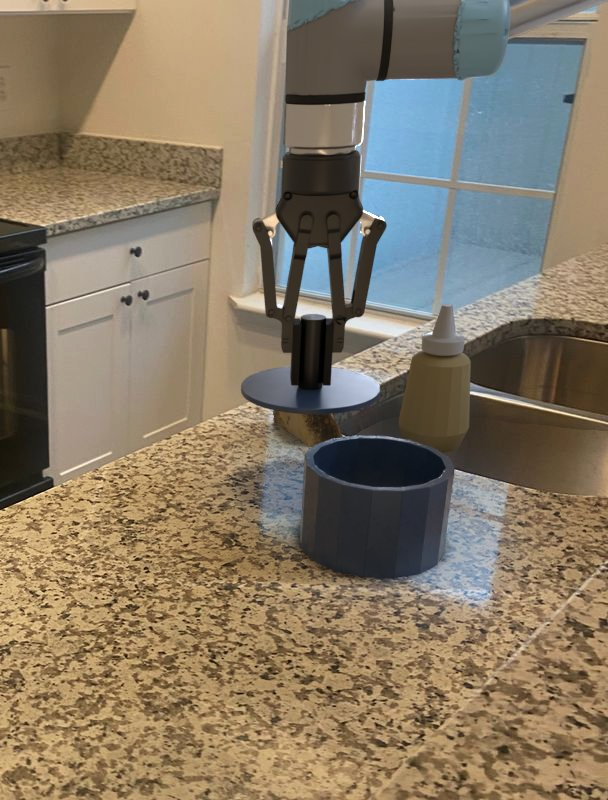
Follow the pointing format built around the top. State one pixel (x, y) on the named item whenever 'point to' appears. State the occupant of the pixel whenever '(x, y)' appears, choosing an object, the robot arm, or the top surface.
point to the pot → (375, 506)
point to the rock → (308, 426)
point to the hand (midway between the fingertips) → (310, 381)
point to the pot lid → (311, 380)
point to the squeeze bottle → (438, 388)
